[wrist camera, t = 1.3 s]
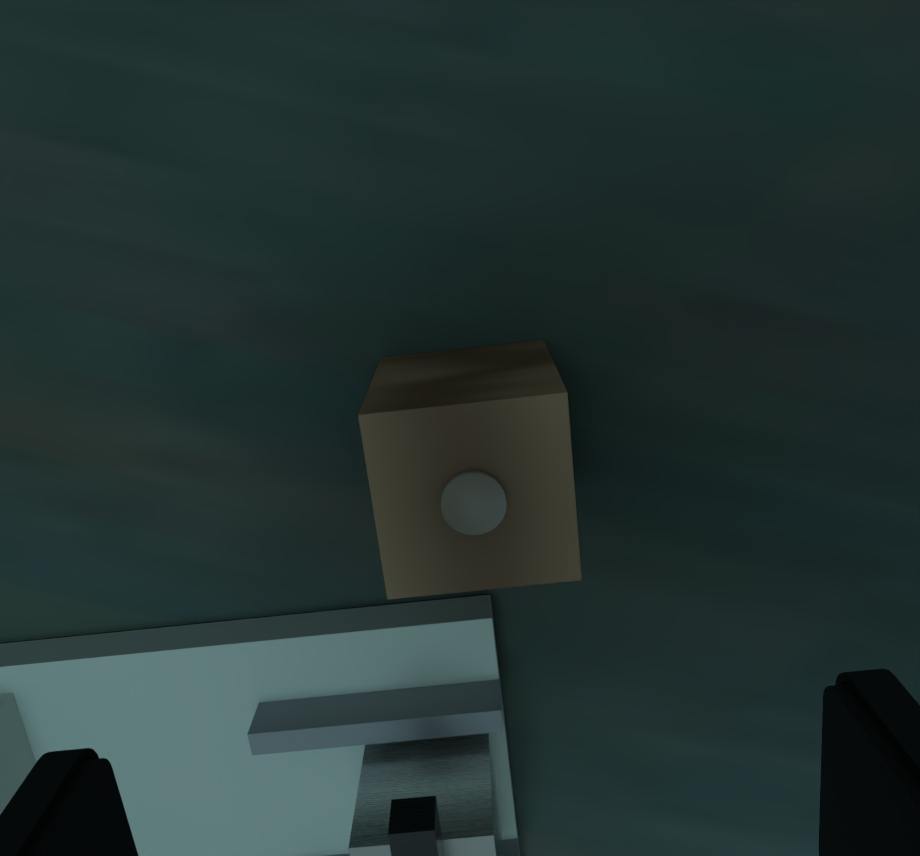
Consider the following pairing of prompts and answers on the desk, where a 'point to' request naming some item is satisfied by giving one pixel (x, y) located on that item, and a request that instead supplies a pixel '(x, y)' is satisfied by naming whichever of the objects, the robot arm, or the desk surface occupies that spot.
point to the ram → (428, 799)
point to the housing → (471, 470)
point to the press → (256, 718)
